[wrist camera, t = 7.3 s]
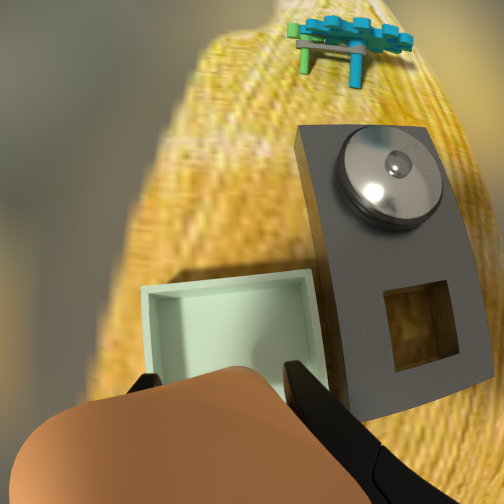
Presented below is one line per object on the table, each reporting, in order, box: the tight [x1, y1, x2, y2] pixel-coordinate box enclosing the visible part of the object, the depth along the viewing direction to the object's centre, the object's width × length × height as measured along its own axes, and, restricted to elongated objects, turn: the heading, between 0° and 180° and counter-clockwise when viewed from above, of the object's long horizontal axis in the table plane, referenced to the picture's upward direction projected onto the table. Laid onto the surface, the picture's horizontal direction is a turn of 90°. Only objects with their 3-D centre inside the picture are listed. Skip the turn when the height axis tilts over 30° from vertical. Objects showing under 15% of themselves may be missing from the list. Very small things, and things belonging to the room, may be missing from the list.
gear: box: [287, 15, 413, 88], centre depth 23 cm, size 11×6×10 cm
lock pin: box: [9, 366, 371, 504], centre depth 8 cm, size 3×3×13 cm
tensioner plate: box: [294, 124, 494, 423], centre depth 18 cm, size 18×10×5 cm, turn 7°
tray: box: [141, 268, 329, 403], centre depth 16 cm, size 12×9×2 cm
